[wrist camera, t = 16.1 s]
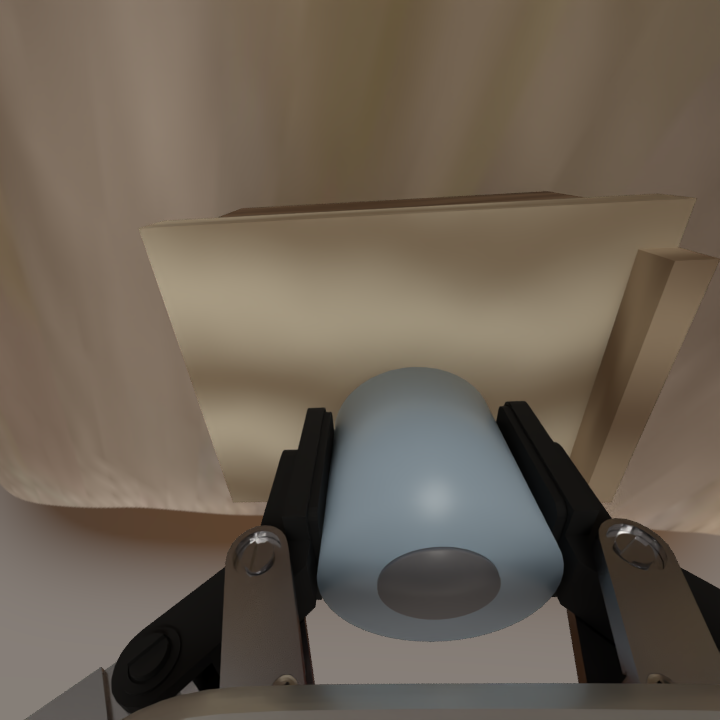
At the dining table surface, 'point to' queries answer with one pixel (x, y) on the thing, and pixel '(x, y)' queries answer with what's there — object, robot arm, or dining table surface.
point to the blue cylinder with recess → (430, 515)
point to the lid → (433, 316)
